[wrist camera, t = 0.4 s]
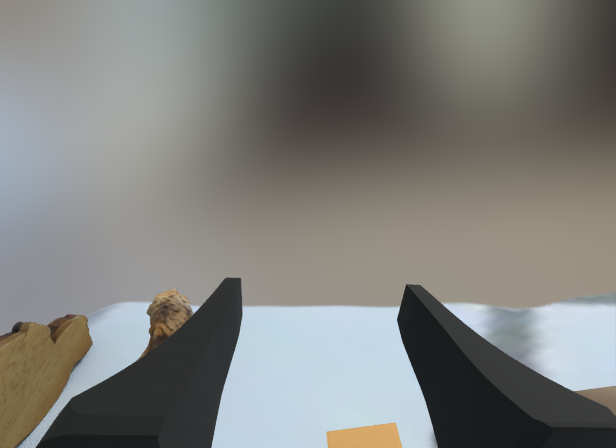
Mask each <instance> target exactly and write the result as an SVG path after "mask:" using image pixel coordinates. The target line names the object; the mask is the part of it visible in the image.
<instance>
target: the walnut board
mask: <svg viewBox="0 0 616 448" xmlns="http://www.w3.org/2000/svg"><path fill="white" fill-rule="evenodd" d="M574 392H576V393H578V394H580V395H582V396H584V397H586V398H589V399H591V400H593V401H595V402H597V403H600V404H602V405H604V406H606V407H608V408H609V409H610V410H611V411H612V412H613V413H614V414H615V416H616V386H611V387H604V388H596V389H589V390H581V391H574Z"/></svg>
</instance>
